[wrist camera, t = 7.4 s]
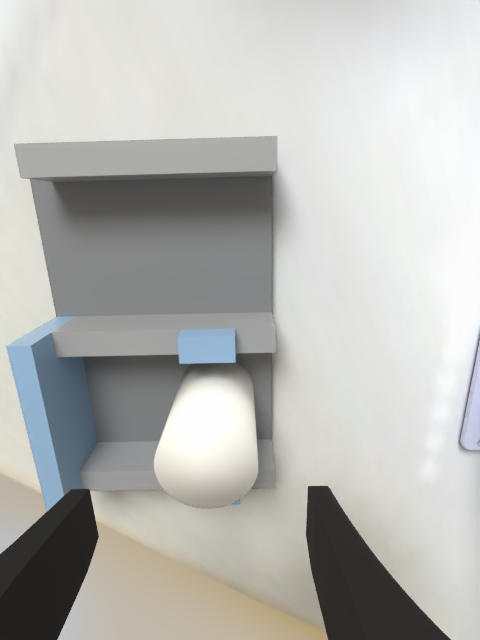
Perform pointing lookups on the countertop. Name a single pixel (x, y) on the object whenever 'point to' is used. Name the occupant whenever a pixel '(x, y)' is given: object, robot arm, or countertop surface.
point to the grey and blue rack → (143, 298)
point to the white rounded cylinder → (210, 437)
